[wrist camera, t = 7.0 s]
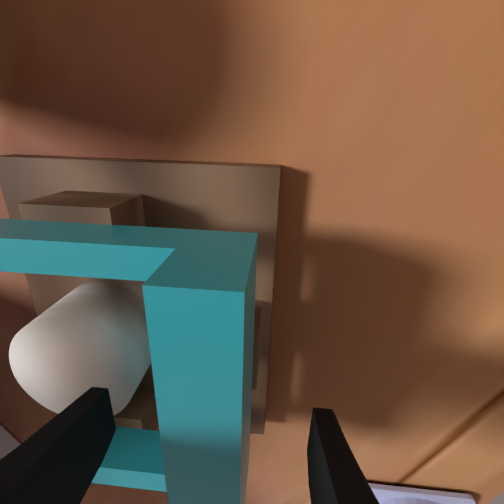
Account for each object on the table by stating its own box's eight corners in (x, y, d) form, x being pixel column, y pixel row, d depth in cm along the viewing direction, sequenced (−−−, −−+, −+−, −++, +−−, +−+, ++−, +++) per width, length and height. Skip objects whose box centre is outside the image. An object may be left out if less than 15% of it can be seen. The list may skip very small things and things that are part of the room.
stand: (75, 398, 21) (8, 486, 16) (14, 154, 15) (-127, 165, 10) (264, 417, 20) (259, 516, 15) (280, 164, 14) (281, 183, 9)
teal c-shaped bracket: (55, 435, 16) (-21, 538, 12) (-11, 218, 12) (-167, 263, 8) (249, 456, 15) (237, 573, 11) (258, 232, 11) (244, 292, 7)
